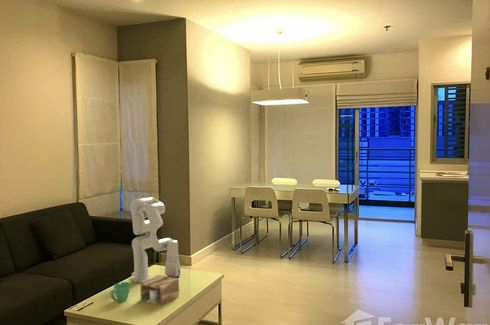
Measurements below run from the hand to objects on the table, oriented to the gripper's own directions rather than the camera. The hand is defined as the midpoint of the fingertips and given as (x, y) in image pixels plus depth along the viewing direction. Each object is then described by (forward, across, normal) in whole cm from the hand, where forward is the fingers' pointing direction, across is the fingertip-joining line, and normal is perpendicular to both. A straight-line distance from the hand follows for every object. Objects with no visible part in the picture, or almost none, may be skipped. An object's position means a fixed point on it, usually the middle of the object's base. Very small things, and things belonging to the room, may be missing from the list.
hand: (173, 285), depth 272 cm
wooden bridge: (+4, 0, -14) cm, 14 cm away
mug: (+4, -19, -30) cm, 35 cm away
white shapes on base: (+4, -1, -12) cm, 12 cm away
